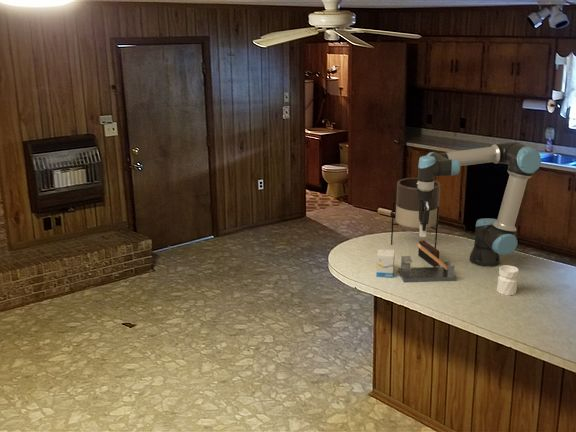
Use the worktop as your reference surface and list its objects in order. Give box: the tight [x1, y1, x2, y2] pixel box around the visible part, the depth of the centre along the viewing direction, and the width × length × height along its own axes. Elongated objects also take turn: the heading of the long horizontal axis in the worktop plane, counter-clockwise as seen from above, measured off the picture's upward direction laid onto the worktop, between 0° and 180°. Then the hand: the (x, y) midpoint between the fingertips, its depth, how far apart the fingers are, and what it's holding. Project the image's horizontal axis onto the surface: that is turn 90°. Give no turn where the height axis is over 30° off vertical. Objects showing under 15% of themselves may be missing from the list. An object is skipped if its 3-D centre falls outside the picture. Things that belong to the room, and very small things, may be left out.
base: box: [397, 259, 458, 283], centre depth 318 cm, size 26×13×8 cm, turn 93°
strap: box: [417, 243, 447, 270], centre depth 314 cm, size 21×5×1 cm
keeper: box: [400, 255, 413, 271], centre depth 320 cm, size 4×7×6 cm, turn 3°
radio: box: [417, 239, 441, 267], centre depth 335 cm, size 19×3×15 cm, turn 18°
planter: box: [390, 177, 441, 249], centre depth 358 cm, size 26×25×35 cm
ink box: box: [375, 248, 396, 279], centre depth 321 cm, size 9×8×12 cm
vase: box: [496, 264, 520, 295], centre depth 299 cm, size 9×9×12 cm
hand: (422, 235), depth 310 cm, fingers closed
